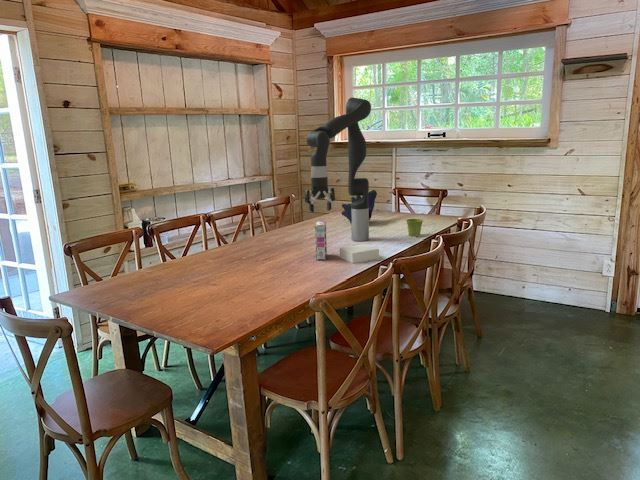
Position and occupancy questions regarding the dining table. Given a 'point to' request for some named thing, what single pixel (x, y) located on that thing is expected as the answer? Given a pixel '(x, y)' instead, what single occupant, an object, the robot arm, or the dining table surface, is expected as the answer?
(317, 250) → the candy bar box
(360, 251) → the grey block
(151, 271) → the dining table surface
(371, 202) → the decorative plant
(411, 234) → the plant pot
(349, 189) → the robot arm
